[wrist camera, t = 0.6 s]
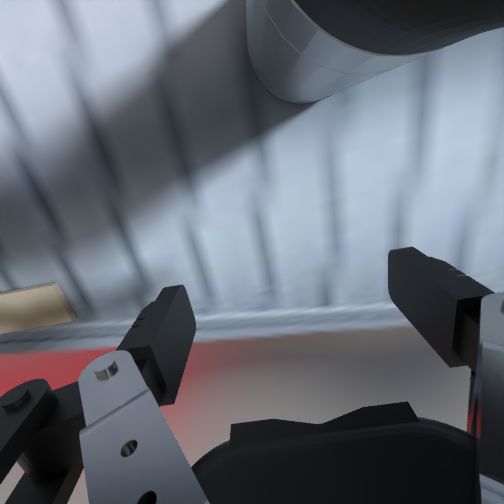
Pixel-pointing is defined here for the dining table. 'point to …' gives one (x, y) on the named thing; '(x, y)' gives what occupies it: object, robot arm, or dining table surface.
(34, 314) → the board
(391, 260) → the robot arm
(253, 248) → the dining table surface
